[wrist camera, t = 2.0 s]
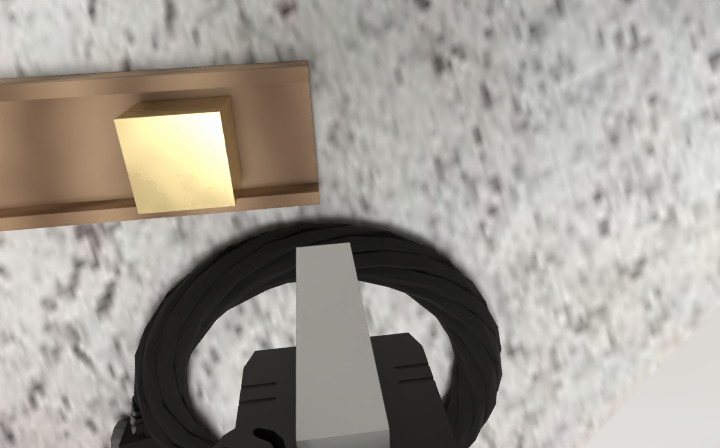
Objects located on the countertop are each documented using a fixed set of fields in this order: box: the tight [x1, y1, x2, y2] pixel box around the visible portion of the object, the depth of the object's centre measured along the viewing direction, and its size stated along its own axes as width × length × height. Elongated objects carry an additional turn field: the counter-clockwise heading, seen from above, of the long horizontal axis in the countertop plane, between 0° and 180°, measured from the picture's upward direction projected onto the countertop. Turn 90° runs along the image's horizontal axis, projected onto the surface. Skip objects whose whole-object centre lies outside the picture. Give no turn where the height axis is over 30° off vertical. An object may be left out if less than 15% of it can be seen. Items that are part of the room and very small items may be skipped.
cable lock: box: [111, 224, 502, 448], centre depth 37 cm, size 28×4×30 cm
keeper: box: [114, 96, 243, 214], centre depth 27 cm, size 5×5×4 cm
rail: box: [0, 61, 320, 231], centre depth 26 cm, size 30×8×6 cm, turn 93°
